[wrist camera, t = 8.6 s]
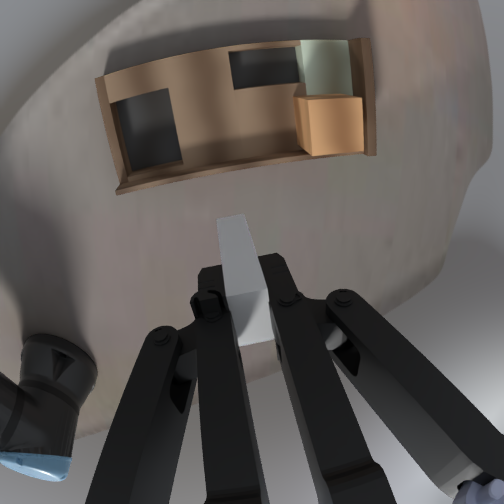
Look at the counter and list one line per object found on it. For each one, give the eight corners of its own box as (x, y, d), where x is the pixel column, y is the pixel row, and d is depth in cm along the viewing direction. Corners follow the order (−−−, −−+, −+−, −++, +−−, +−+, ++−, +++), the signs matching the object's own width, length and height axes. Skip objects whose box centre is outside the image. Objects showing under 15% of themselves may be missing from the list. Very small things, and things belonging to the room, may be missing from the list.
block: (297, 144, 30) (312, 156, 26) (292, 96, 28) (307, 100, 23) (342, 139, 30) (363, 151, 26) (340, 93, 28) (361, 97, 24)
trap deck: (126, 180, 32) (114, 199, 28) (102, 78, 26) (83, 79, 21) (354, 143, 33) (376, 155, 29) (346, 42, 27) (370, 38, 22)
